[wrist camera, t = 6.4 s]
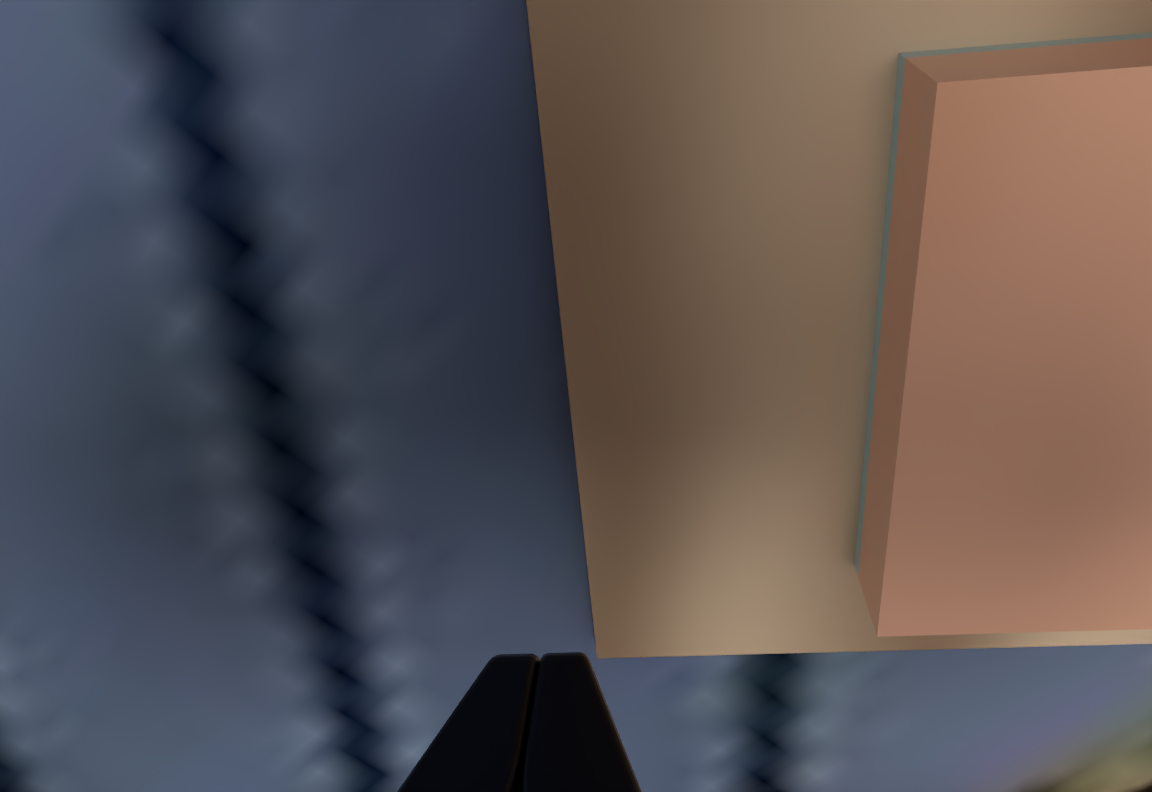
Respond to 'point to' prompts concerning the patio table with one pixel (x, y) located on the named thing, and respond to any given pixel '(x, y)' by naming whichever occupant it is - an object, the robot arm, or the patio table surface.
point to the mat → (738, 299)
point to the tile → (1013, 345)
